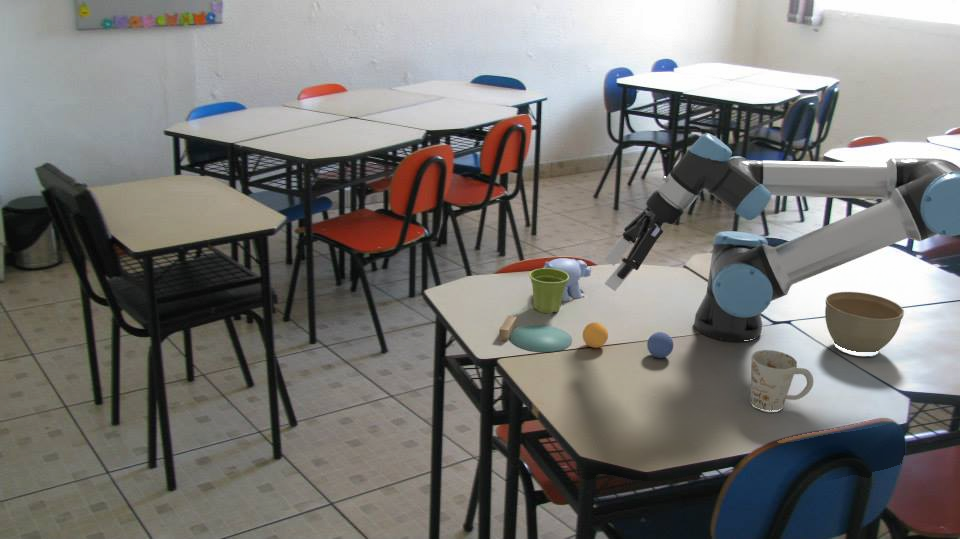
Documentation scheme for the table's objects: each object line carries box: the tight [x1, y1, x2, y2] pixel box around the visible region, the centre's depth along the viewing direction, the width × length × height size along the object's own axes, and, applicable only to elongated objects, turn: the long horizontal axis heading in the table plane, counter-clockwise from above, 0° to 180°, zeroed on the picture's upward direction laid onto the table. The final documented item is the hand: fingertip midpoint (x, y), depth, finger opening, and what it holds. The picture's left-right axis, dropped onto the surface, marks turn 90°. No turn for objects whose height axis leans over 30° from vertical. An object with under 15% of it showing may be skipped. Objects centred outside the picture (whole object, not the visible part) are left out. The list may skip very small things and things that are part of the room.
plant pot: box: [528, 267, 569, 314], centre depth 216 cm, size 9×9×9 cm
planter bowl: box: [824, 291, 905, 352], centre depth 202 cm, size 16×16×11 cm
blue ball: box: [646, 331, 674, 359], centre depth 195 cm, size 6×6×6 cm
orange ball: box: [582, 321, 609, 349], centre depth 198 cm, size 6×6×6 cm
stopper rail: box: [498, 315, 517, 342], centre depth 203 cm, size 2×8×2 cm, turn 165°
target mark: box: [509, 324, 573, 353], centre depth 202 cm, size 14×14×1 cm
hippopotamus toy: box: [542, 257, 592, 303], centre depth 228 cm, size 11×15×10 cm
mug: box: [750, 349, 814, 411], centre depth 176 cm, size 8×13×10 cm, turn 95°
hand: (609, 274), depth 199 cm, fingers open, 13 cm apart
